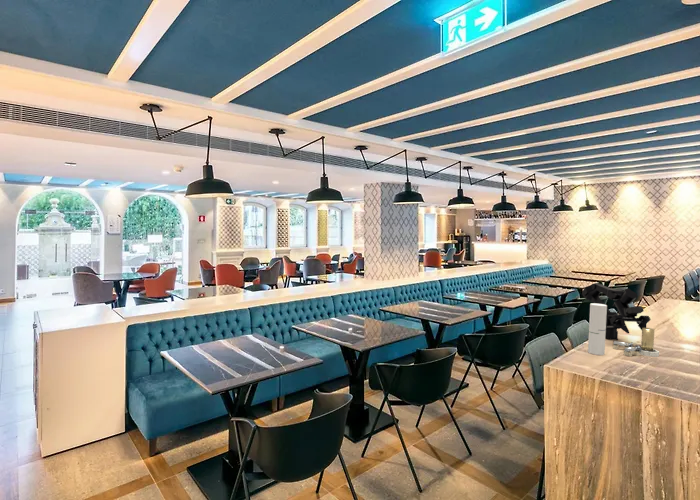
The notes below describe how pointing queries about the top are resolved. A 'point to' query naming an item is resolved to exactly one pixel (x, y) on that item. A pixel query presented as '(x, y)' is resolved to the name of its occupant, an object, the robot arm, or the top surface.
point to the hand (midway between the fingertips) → (637, 333)
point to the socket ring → (650, 353)
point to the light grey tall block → (597, 329)
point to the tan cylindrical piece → (647, 339)
